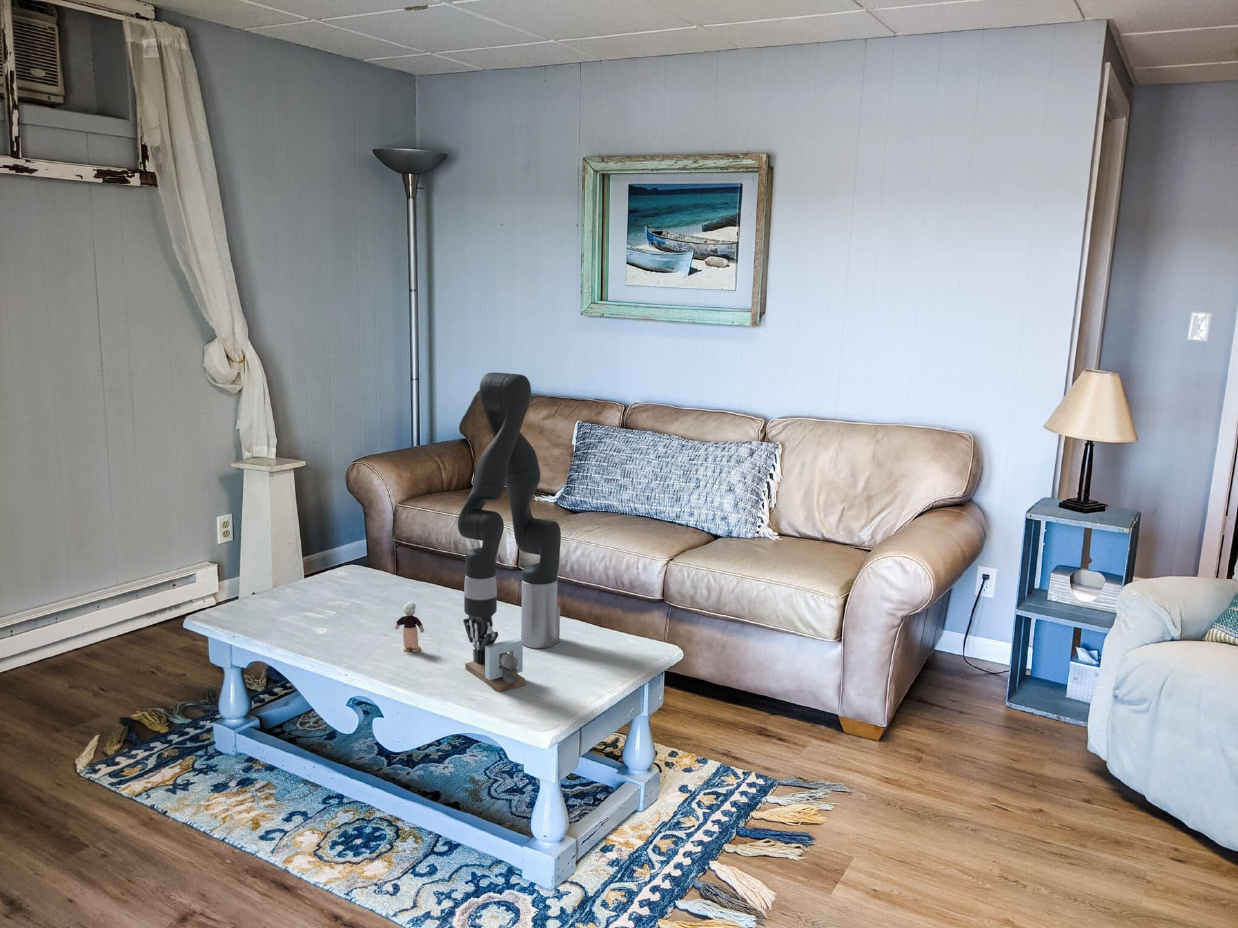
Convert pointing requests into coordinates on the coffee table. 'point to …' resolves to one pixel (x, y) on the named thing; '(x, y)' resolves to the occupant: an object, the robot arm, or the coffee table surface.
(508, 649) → the square plate with hole
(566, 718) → the coffee table surface
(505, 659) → the pipe stand
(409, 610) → the grandmother figurine
